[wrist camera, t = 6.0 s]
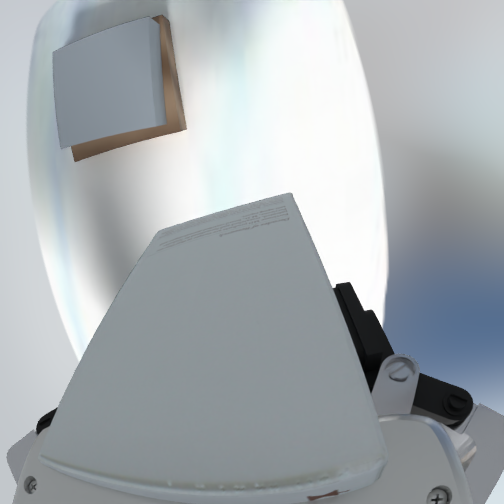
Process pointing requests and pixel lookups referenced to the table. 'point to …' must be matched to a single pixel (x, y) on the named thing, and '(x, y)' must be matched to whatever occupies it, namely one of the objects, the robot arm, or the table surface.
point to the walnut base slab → (171, 106)
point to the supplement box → (222, 373)
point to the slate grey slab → (109, 83)
